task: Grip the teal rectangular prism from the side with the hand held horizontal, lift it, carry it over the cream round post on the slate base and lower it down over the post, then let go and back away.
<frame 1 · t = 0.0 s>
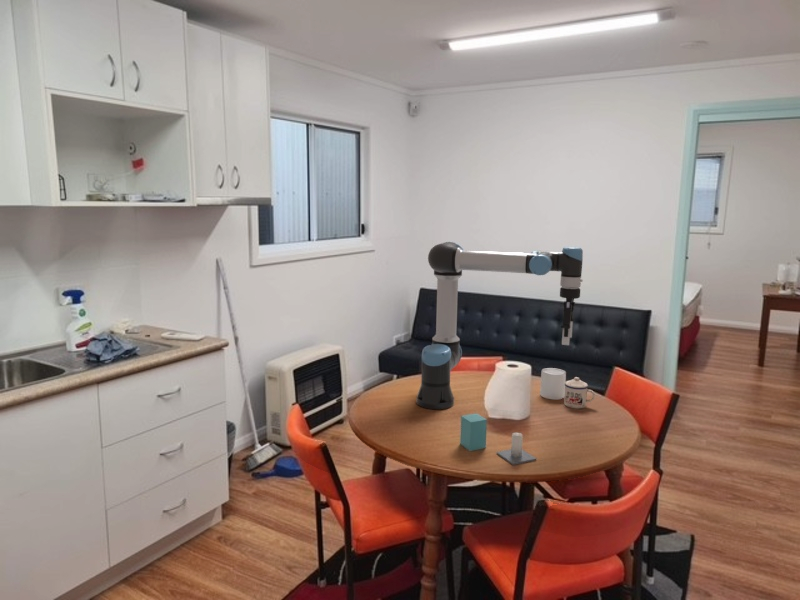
hand: (566, 341, 223), 28 cm above the table, tool pointing down, fingers open, 13 cm apart
post: (516, 456, 183), on the table
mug: (553, 395, 244), on the table
teal rectangular prism: (472, 445, 191), on the table
teacup with lid: (578, 406, 231), on the table
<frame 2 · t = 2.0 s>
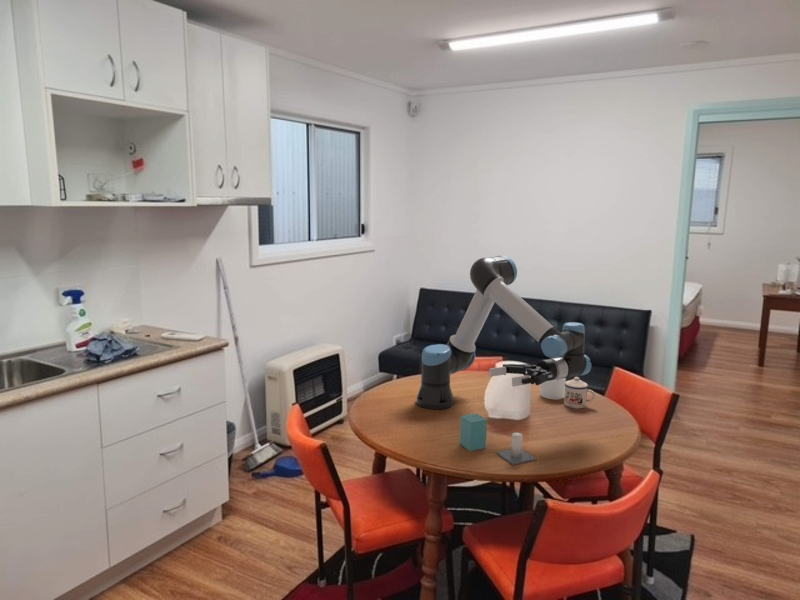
hand: (500, 377, 192), 23 cm above the table, tool horizontal, fingers open, 13 cm apart
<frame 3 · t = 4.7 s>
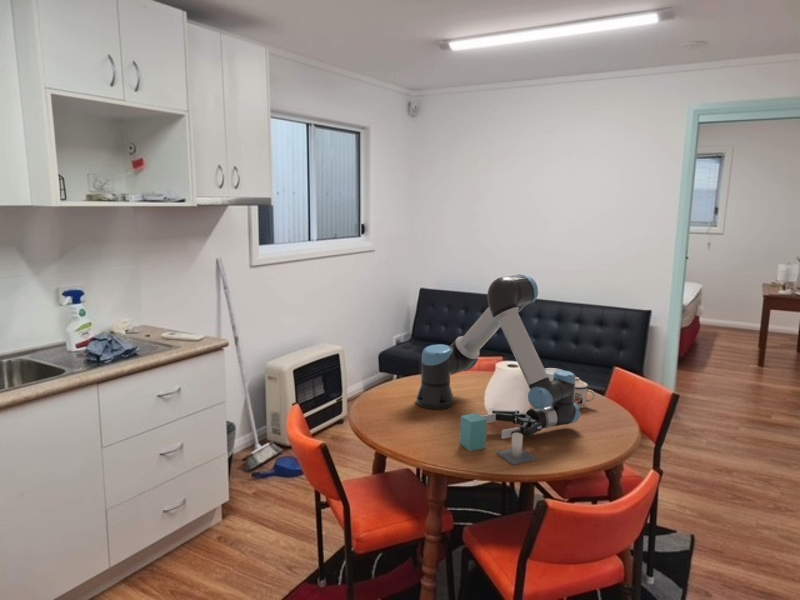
hand: (490, 427, 192), 6 cm above the table, tool horizontal, fingers open, 13 cm apart
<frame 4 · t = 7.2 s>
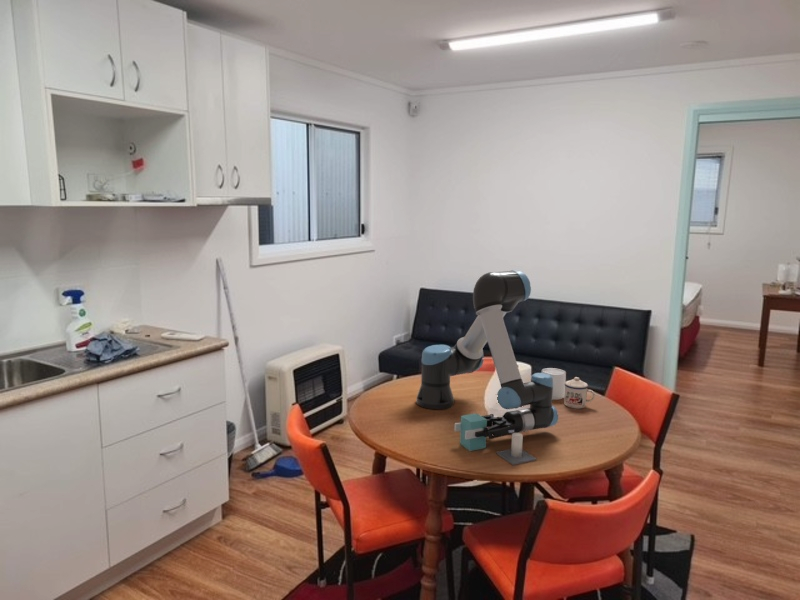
hand: (460, 431, 188), 6 cm above the table, tool horizontal, fingers closed on teal rectangular prism, 6 cm apart
teal rectangular prism: (472, 445, 191), on the table, touching gripper
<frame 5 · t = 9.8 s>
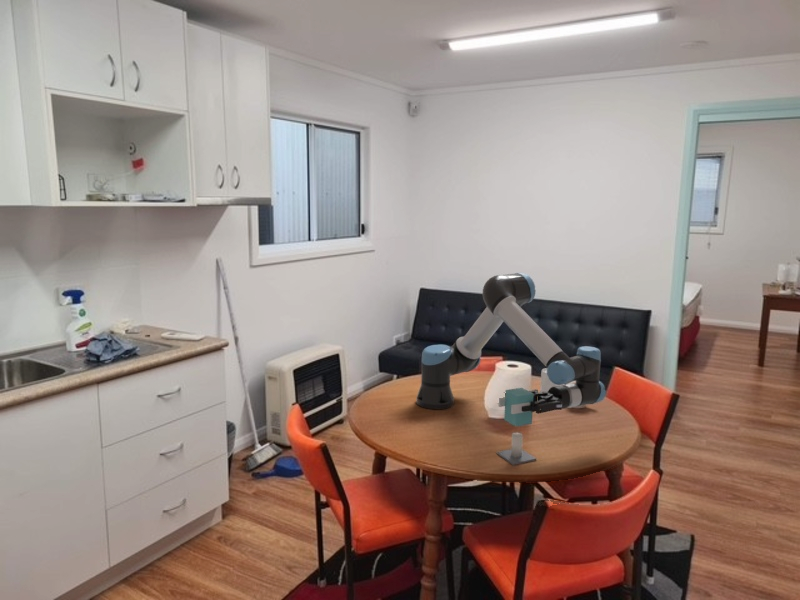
hand: (505, 406, 178), 18 cm above the table, tool horizontal, fingers closed on teal rectangular prism, 6 cm apart
teal rectangular prism: (518, 421, 181), point 12 cm above the table, touching gripper
when the fingers open (8 cm above the table, at t = 12.4 s): teal rectangular prism drops 1 cm, resting on post.
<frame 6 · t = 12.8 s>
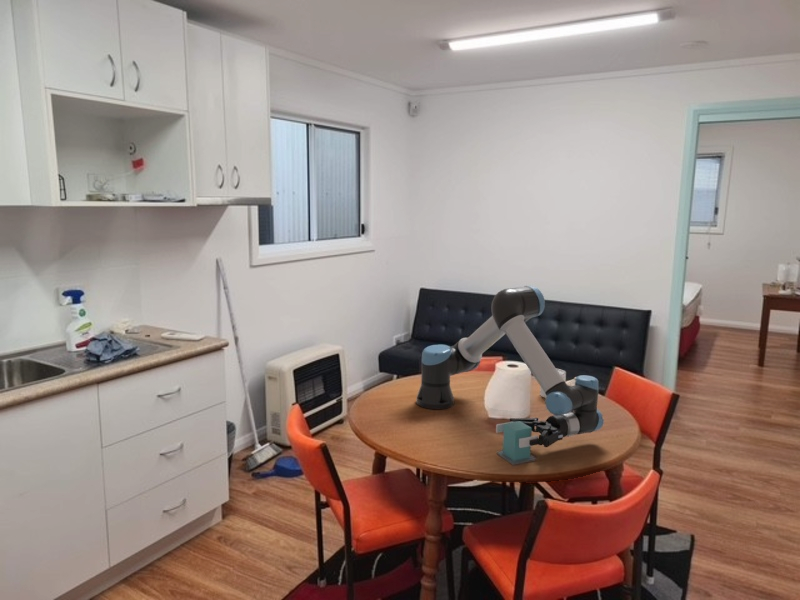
hand: (507, 435, 180), 8 cm above the table, tool horizontal, fingers open, 12 cm apart
teal rectangular prism: (516, 455, 183), point 1 cm above the table, touching post
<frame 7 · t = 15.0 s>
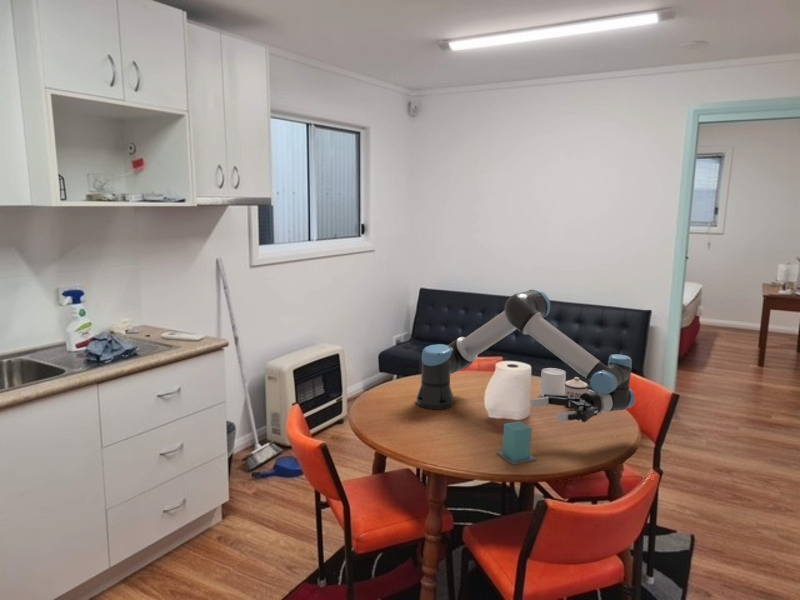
hand: (544, 410, 186), 14 cm above the table, tool horizontal, fingers open, 13 cm apart
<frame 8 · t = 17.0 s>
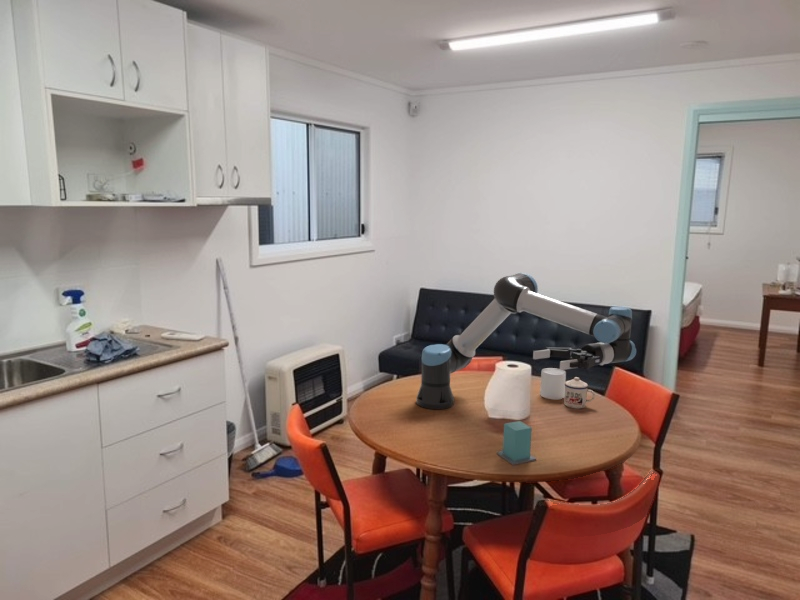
hand: (546, 360, 187), 30 cm above the table, tool horizontal, fingers open, 13 cm apart
at the end: teal rectangular prism 0.0 cm from the post (horizontally); teal rectangular prism point 0.6 cm above the table; teal rectangular prism tilted 0° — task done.
